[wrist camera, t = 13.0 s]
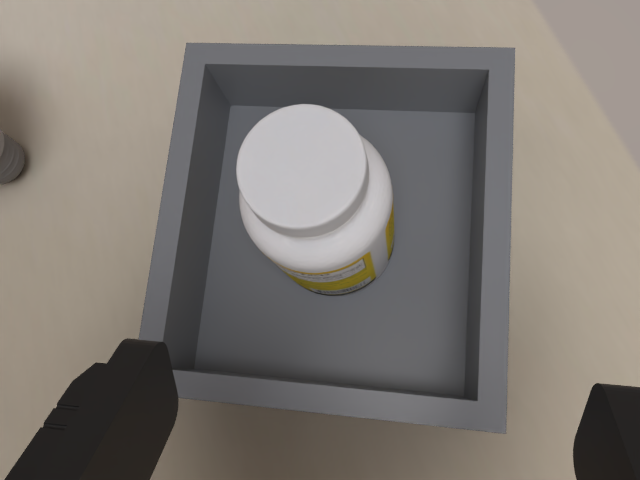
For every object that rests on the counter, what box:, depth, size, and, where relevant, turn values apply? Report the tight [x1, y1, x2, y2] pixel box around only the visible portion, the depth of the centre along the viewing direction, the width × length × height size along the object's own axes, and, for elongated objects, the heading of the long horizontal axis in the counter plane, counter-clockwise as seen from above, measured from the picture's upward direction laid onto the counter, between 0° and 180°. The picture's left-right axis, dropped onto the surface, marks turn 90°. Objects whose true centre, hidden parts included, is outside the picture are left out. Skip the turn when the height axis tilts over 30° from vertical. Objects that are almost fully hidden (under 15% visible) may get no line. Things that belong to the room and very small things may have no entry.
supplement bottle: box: [236, 104, 394, 296], centre depth 21 cm, size 5×5×10 cm
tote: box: [139, 43, 515, 434], centre depth 25 cm, size 14×15×5 cm
